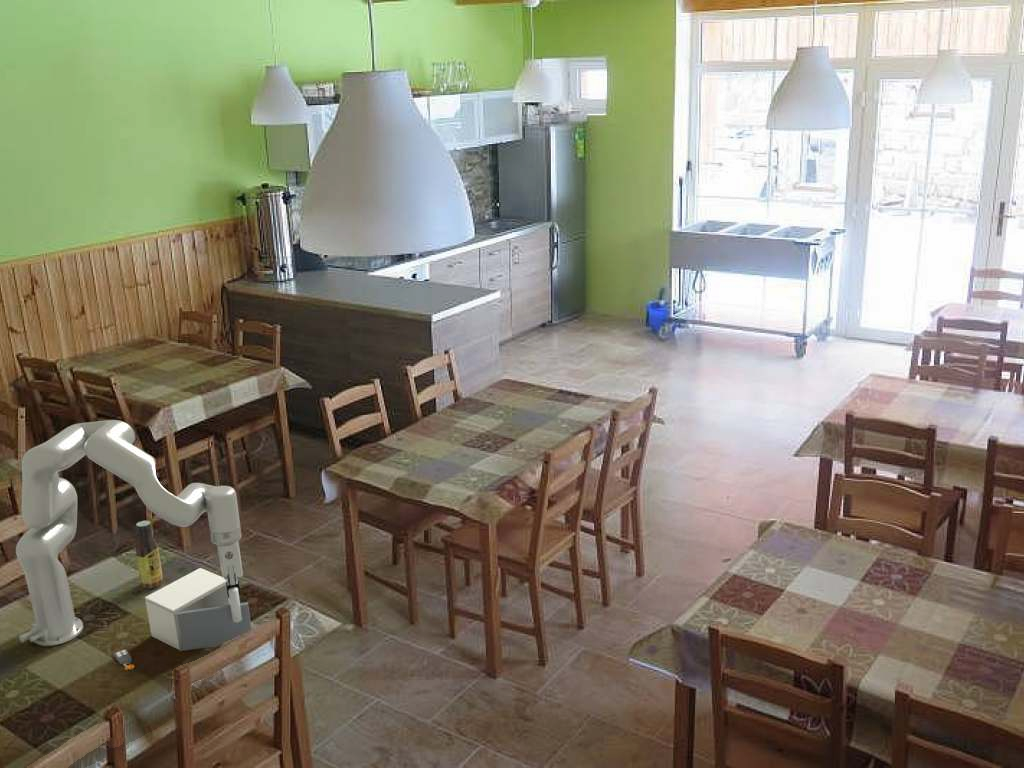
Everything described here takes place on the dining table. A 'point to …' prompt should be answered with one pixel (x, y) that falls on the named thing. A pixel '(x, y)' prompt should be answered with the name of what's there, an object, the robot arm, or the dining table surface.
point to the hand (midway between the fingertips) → (234, 595)
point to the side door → (212, 624)
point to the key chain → (124, 658)
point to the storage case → (183, 601)
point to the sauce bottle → (148, 557)
